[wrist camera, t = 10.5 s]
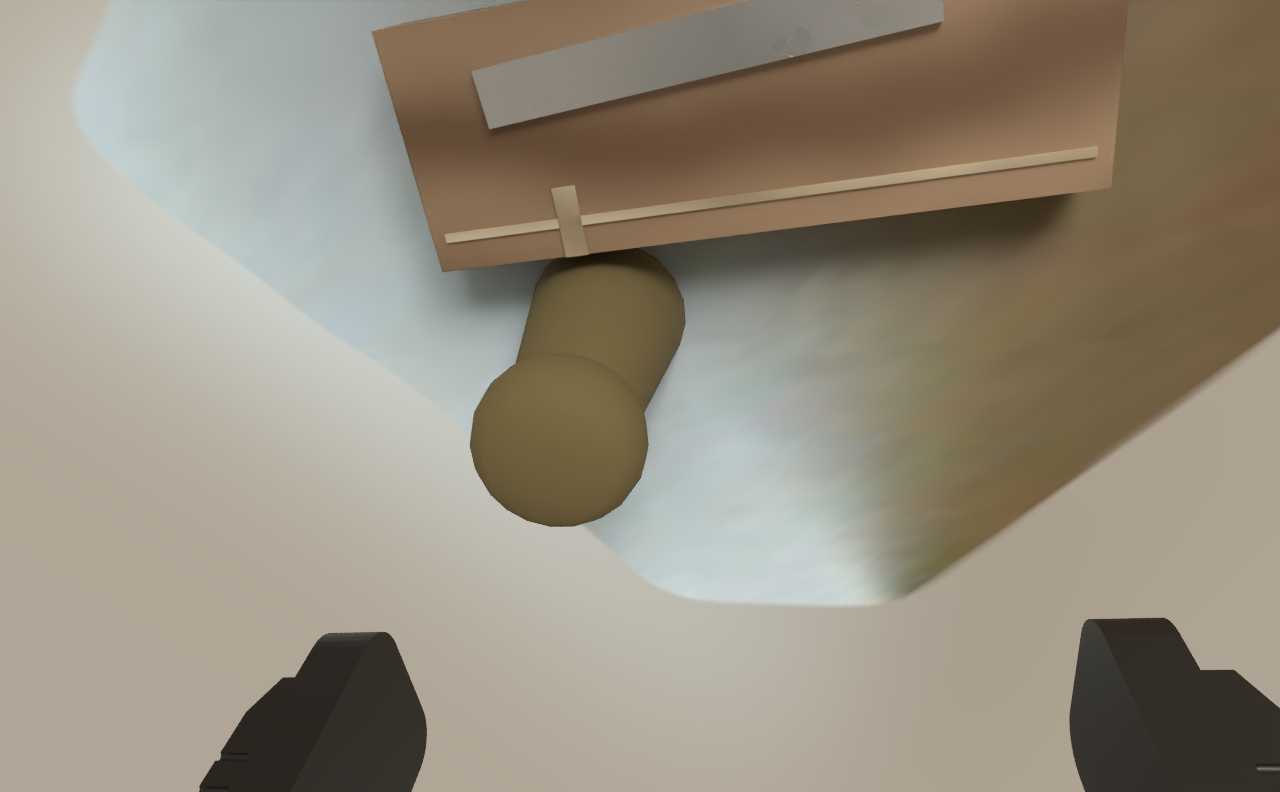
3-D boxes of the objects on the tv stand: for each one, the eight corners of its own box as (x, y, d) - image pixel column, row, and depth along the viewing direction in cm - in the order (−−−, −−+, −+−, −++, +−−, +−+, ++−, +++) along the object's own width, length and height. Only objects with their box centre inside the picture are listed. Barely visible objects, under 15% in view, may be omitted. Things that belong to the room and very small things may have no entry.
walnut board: (401, 23, 28) (370, 31, 26) (1104, -108, 24) (1140, -112, 22) (463, 249, 32) (441, 273, 30) (1083, 167, 28) (1112, 188, 26)
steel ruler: (473, 69, 26) (471, 71, 26) (937, -49, 23) (939, -49, 23) (492, 127, 27) (489, 129, 27) (942, 19, 24) (944, 20, 24)
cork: (502, 319, 33) (401, 476, 24) (594, 207, 31) (521, 333, 21) (620, 410, 35) (568, 592, 25) (717, 310, 32) (701, 471, 22)
